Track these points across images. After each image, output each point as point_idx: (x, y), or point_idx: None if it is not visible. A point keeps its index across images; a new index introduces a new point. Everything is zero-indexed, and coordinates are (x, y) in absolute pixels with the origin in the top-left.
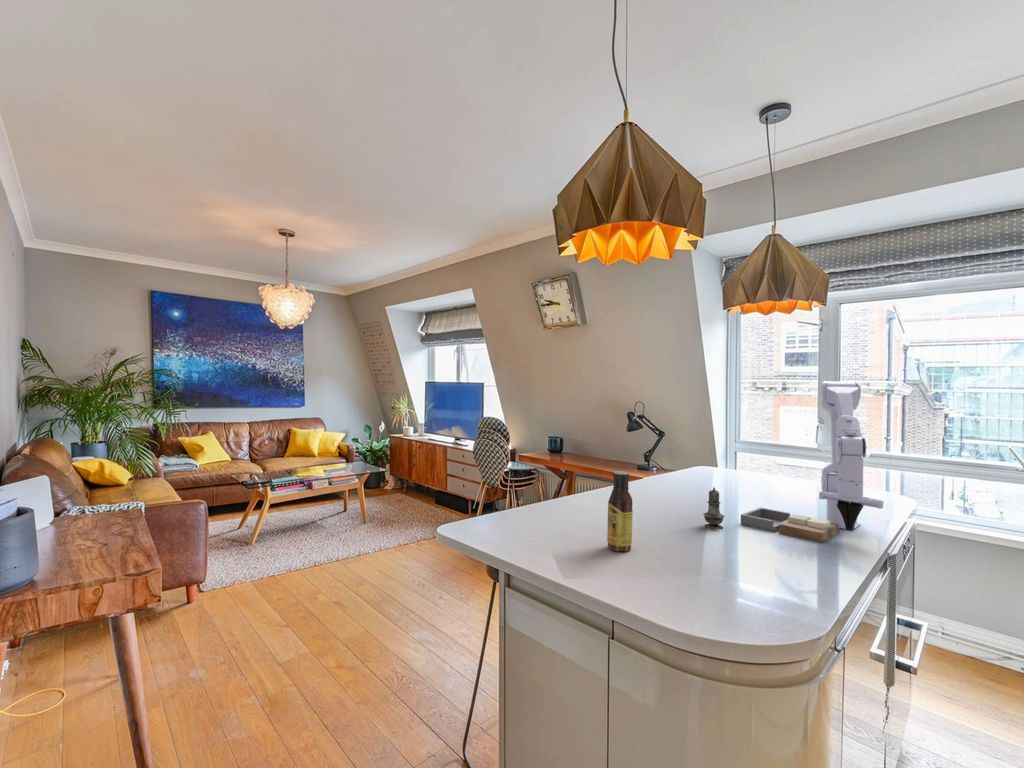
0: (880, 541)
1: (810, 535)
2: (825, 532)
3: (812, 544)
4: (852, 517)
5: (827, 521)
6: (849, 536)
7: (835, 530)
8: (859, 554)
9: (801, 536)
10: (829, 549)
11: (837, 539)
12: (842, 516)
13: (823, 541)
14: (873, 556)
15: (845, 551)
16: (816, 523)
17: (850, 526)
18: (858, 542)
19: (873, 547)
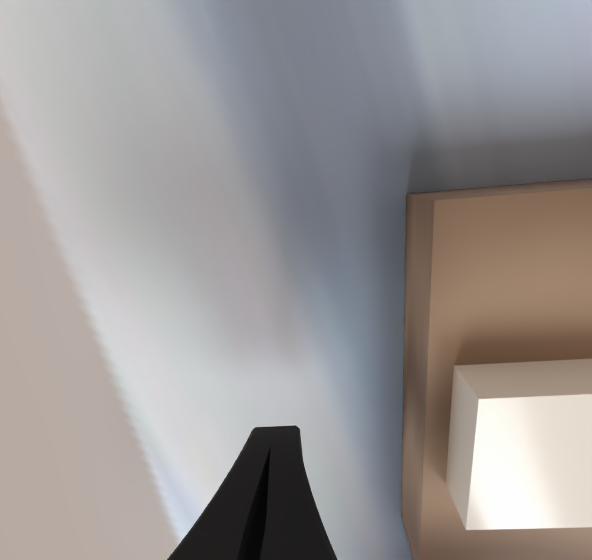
0: (183, 516)
1: (523, 187)
2: (427, 292)
3: (450, 55)
4: (192, 554)
5: (484, 502)
6: (329, 488)
7: (410, 489)
8: (102, 113)
9: (585, 180)
10: (297, 29)
11: (356, 372)
12: (324, 539)
13: (406, 225)
14: (29, 156)
15: (196, 98)
16: (560, 385)
17: (250, 452)
18: (244, 409)
19: (143, 375)
